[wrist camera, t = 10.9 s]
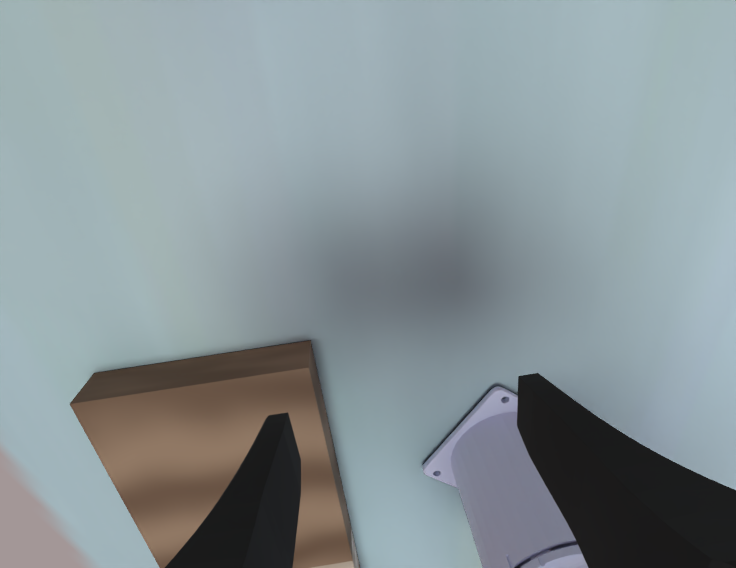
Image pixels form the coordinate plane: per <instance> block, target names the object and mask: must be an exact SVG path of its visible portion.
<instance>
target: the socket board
mask: <svg viewBox="0 0 736 568" xmlns="http://www.w3.org/2000/svg"><path fill="white" fill-rule="evenodd" d="M70 406H71V407H72V409H73V411H74V413H75V415H76V416H77V418H78V420H79V422H80V424H81V426H82V427H83V429H84V431H85V433H86V435H87V436H88V438H89V440H90V442H91V444H92V445H93V447H94V449H95V451H96V453H97V455H98V456H99V458H100V460H101V462H102V464H103V465H104V467H105V469H106V471H107V473H108V475H109V476H110V478H111V480H112V482H113V484H114V485H115V487H116V489H117V491H118V493H119V494H120V496H121V498H122V500H123V502H124V504H125V505H126V507H127V509H128V511H129V513H130V514H131V516H132V518H133V520H134V522H135V524H136V525H137V527H138V529H139V531H140V533H141V534H142V536H143V538H144V540H145V542H146V543H147V545H148V547H149V549H150V551H151V553H152V554H153V556H154V558H155V560H156V562H157V563H158V565H159V567H160V568H165V567H166V565H167V564H168V563H169V562H170V561H171V560H172V559H173V558H174V556H175V555H176V554H177V553H178V552H179V551H180V549H181V548H182V547H183V546H184V545H185V543H186V542H187V541H188V540H189V539H190V537H191V536H192V535H193V534H194V533H195V531H196V530H197V529H198V527H199V526H200V525H201V523H202V522H203V521H204V520H205V518H206V517H207V516H208V514H209V513H210V511H211V510H212V509H213V507H214V506H215V504H216V503H217V502H218V500H219V499H220V497H221V495H222V494H223V492H224V491H225V489H226V488H227V486H228V485H229V483H230V482H231V480H232V479H233V477H234V475H235V474H236V472H237V470H238V469H239V467H240V465H241V464H242V462H243V460H244V459H245V457H246V455H247V453H248V452H249V450H250V448H251V446H252V444H253V442H254V441H255V439H256V437H257V435H258V433H259V431H260V429H261V427H262V425H263V423H264V421H265V419H266V418H267V417H268V415H274V414H281V413H287V412H288V414H289V417H290V421H291V425H292V429H293V432H294V436H295V440H296V443H297V447H298V451H299V454H300V458H301V498H300V507H299V516H298V525H297V534H296V542H295V551H294V560H293V568H360V565H359V560H358V556H357V551H356V547H355V542H354V537H353V533H352V528H351V524H350V519H349V515H348V510H347V505H346V501H345V496H344V492H343V487H342V482H341V478H340V473H339V469H338V464H337V460H336V455H335V450H334V446H333V441H332V437H331V432H330V427H329V423H328V418H327V414H326V409H325V405H324V400H323V395H322V391H321V386H320V382H319V377H318V373H317V368H316V363H315V359H314V354H313V350H312V345H311V340H310V341H303V342H297V343H290V344H283V345H277V346H270V347H264V348H257V349H250V350H244V351H237V352H231V353H224V354H217V355H211V356H204V357H198V358H191V359H184V360H178V361H171V362H165V363H158V364H152V365H145V366H138V367H132V368H125V369H119V370H112V371H105V372H99V373H94V374H93V375H92V376H91V378H90V379H89V380H88V381H87V383H86V384H85V385H84V387H83V388H82V389H81V390H80V392H79V393H78V394H77V395H76V397H75V398H74V399H73V401H72V402H71V403H70Z"/></svg>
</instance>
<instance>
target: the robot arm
mask: <svg viewBox="0 0 736 568" xmlns="http://www.w3.org/2000/svg"><path fill="white" fill-rule="evenodd" d="M503 397H506V398H504V399H502V398H503ZM423 472H424V474H425V475H427V476H429V477H432V478H434V479H437V480H439V481H442V482H444V483H446V484H449V485H451V486H454V487H456V488H458V490H459V493H460V496H461V499H462V503H463V506H464V509H465V512H466V515H467V519H468V522H469V525H470V528H471V531H472V534H473V538H474V541H475V544H476V547H477V550H478V553H479V557H480V560H481V563H482V566H483V568H736V490H734V489H731V488H729V487H727V486H724V485H722V484H720V483H717V482H715V481H713V480H710V479H708V478H706V477H704V476H702V475H700V474H698V473H695V472H693V471H691V470H689V469H687V468H685V467H683V466H681V465H679V464H677V463H675V462H673V461H671V460H669V459H667V458H665V457H663V456H661V455H660V454H658V453H656V452H654V451H652V450H650V449H649V448H647V447H645V446H643V445H641V444H640V443H638V442H636V441H635V440H633V439H631V438H630V437H628V436H626V435H625V434H623V433H622V432H620V431H618V430H617V429H615V428H614V427H612V426H611V425H609V424H607V423H606V422H604V421H603V420H601V419H600V418H598V417H597V416H596V415H594V414H593V413H591V412H590V411H588V410H587V409H586V408H584V407H583V406H581V405H580V404H579V403H577V402H576V401H574V400H573V399H572V398H570V397H569V396H568V395H566V394H565V393H564V392H562V391H561V390H560V389H558V388H557V387H556V386H554V385H553V384H552V383H550V382H549V381H548V380H546V379H545V378H544V377H542V376H541V375H540V374H538V373H536V374H530V375H523V376H519V379H518V395H516V394H514V393H512V392H510V391H508V390H506V389H504V388H502V387H495V388H493V389H491V390H490V391H489V393H488V394H487V395H486V396H485V397H484V398H483V399H482V400H481V401H480V403H479V404H478V405H477V406H476V407H475V408H474V409H473V410H472V411H471V412H470V414H469V415H468V416H467V417H466V418H465V419H464V420H463V421H462V422H461V424H460V425H459V426H458V427H457V428H456V429H455V430H454V431H453V432H452V433H451V435H450V436H449V437H448V438H447V439H446V440H445V441H444V442H443V443H442V445H441V446H440V447H439V448H438V449H437V450H436V451H435V452H434V453H433V455H432V456H431V457H430V458H429V459H428V460H427V461H426V462H425V463H424V465H423ZM300 498H301V458H300V454H299V451H298V447H297V443H296V440H295V436H294V432H293V429H292V425H291V421H290V417H289V414H288V412H287V413H281V414H274V415H268V417H267V418H266V419H265V421H264V423H263V425H262V427H261V429H260V431H259V433H258V435H257V437H256V439H255V441H254V442H253V444H252V446H251V448H250V450H249V452H248V453H247V455H246V457H245V459H244V460H243V462H242V464H241V465H240V467H239V469H238V470H237V472H236V474H235V475H234V477H233V479H232V480H231V482H230V483H229V485H228V486H227V488H226V489H225V491H224V492H223V494H222V495H221V497H220V499H219V500H218V502H217V503H216V504H215V506H214V507H213V509H212V510H211V511H210V513H209V514H208V516H207V517H206V518H205V520H204V521H203V522H202V523H201V525H200V526H199V527H198V529H197V530H196V531H195V533H194V534H193V535H192V536H191V537H190V539H189V540H188V541H187V542H186V543H185V545H184V546H183V547H182V548H181V549H180V551H179V552H178V553H177V554H176V555H175V556H174V558H173V559H172V560H171V561H170V562H169V563H168V564H167V565H166V567H165V568H293V560H294V551H295V542H296V534H297V525H298V516H299V507H300Z"/></svg>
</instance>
